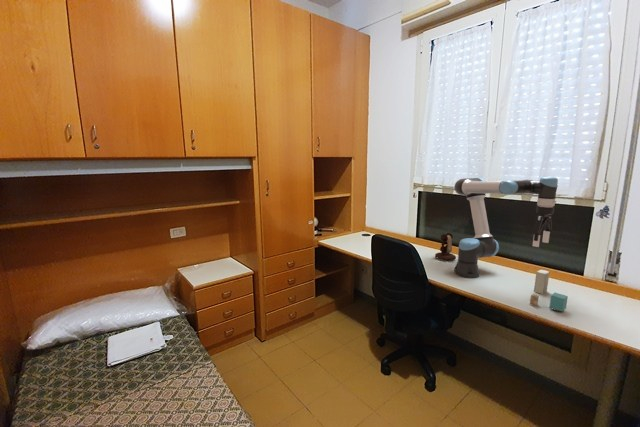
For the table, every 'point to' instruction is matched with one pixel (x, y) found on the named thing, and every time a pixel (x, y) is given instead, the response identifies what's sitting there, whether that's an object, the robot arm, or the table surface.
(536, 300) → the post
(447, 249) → the brown statuette
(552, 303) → the teal block
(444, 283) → the table surface
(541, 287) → the skincare box
